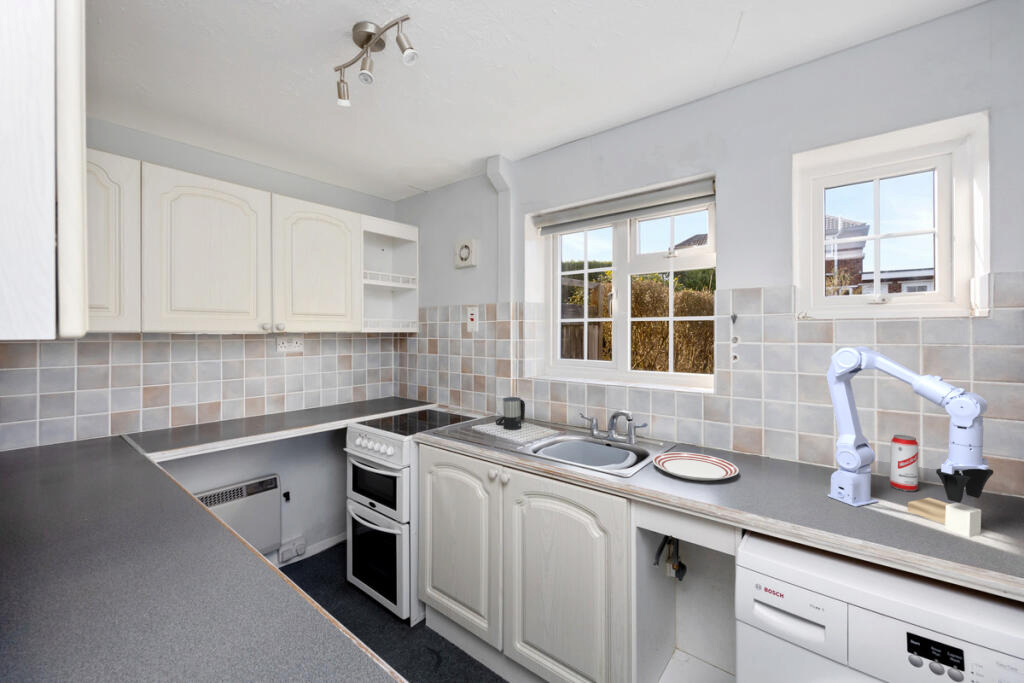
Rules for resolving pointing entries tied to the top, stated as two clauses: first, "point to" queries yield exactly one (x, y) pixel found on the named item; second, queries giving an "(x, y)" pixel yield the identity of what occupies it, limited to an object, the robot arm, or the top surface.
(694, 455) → the dinner plate
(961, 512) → the white block
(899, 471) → the beer can
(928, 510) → the oak block
